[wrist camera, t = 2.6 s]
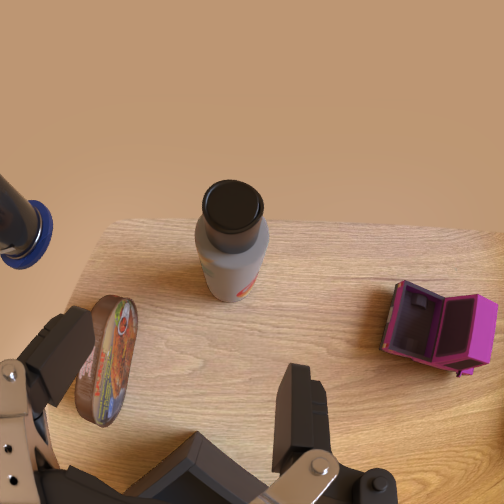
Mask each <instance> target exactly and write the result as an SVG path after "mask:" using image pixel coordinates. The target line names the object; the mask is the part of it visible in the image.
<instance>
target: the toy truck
mask: <svg viewBox="0 0 504 504" xmlns="http://www.w3.org/2000/svg"><path fill="white" fill-rule="evenodd" d="M497 310H498V304H496V303H494V302H492V301H490V300H489V299H487V298H485V297H483V296H481V295H479V294H475V295H466V296H457V297H447V298H445V297H442V296H440V295H438V294H436V293H433V292H431V291H429V290H427V289H424V288H422V287H420V286H418V285H415V284H413V283H411V282H408V281H406V280H404V281H402V282H400V283H398V284H396V285H395V290H394V294H393V299H392V303H391V307H390V311H389V315H388V319H387V323H386V327H385V330H384V334H383V338H382V341H381V345H380V348H379V350H382V351H385V352H388V353H391V354H395V355H398V356H401V357H406V358H412V360H413V361H416V362H419V363H422V364H426V365H429V366H432V367H435V368H439V369H442V370H446V371H452V372H456V374H457V375H456V377H460V376H461V375H472V374H473V370H474V368H475V367H479V366H482V365H486V364H489V362H490V357H491V352H492V346H493V340H494V334H495V327H496V319H497Z"/></svg>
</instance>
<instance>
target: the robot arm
mask: <svg viewBox="0 0 504 504" xmlns="http://www.w3.org/2000/svg"><path fill="white" fill-rule="evenodd" d="M42 232H43V218H42V215H41V213H40V211H39V210H38V209H37V208H36V207H34V206H32V205H31V204H30V203H29V202H28V201H27V200H26V199H25V198H24V197H23V196H22V195H21V194H20V193H19V192H18V191H17V190H16V189H15V188H14V187H13V186H12V185H11V184H9V182H7V181H6V180H5V179H4V177H3V176H2V175H1V174H0V254H3V253H4V254H5V255H6V256H8V257H9V258H11V259H14V260H20V259H23V258H25V257H27V256H28V255H30V254H31V253H32V252H33V250H34V249H35V248H36V246H37V245H38V243H39V241H40V238H41V235H42ZM94 346H95V333H94V327H93V321H92V314H91V312H90V311H89V310H86V309H83V308H80V307H77V306H72V307H71V308H70V309H69V310H68V311H67V312H66V313H65V314H59V315H57V316H55V317H54V318H52V319H51V320H50V321H49V322H48V323H47V324H46V325H45V326H44V329H42V330H41V331H40V332H39V333H38V335H36V337H35V338H34V339H33V340H32V341H31V342H30V344H29V345H28V346H27V347H26V348H25V350H24V351H23V352H22V353H21V355H20V356H19V357H18V358H17V359H7V360H4V361H2V362H1V363H0V504H173V503H169V502H166V501H162V500H159V499H152V498H141V497H133V496H125V495H122V494H120V493H119V492H117V491H116V490H114V489H113V488H111V487H110V486H108V485H107V484H105V483H104V482H102V481H101V480H99V479H98V478H97V477H95V476H93V475H90V474H88V473H86V472H84V471H81V470H79V469H77V468H75V467H73V466H71V465H69V468H68V470H63V469H60V466H59V463H58V461H57V458H56V456H55V454H54V452H53V448H52V444H51V439H50V434H49V429H48V423H47V417H46V412H45V409H44V408H45V407H46V405H47V403H49V404H51V405H53V406H54V407H56V408H57V406H58V404H59V403H60V401H61V400H62V398H63V396H64V395H65V393H66V391H67V390H68V388H69V387H70V385H71V383H72V382H73V380H74V379H75V377H76V376H77V374H78V372H79V371H80V369H81V368H82V366H83V365H84V363H85V362H86V360H87V359H88V357H89V356H90V354H91V353H92V351H93V349H94ZM327 414H328V408H327V397H326V391H325V389H324V388H323V386H322V384H321V382H320V381H316V380H311V376H310V367H309V366H306V365H300V364H294V363H289V365H288V367H287V370H286V372H285V374H284V377H283V379H282V381H281V384H280V386H279V389H278V392H277V397H276V411H275V428H274V445H273V460H272V472H275V473H280V477H279V478H278V479H277V480H276V481H275V482H274V483H273V484H272V485H271V486H270V487H269V488H268V489H266V490H265V491H264V492H263V493H261V494H260V495H258V496H257V497H256V498H255V499H254V500H252V501H251V502H250V503H249V504H398V499H397V487H396V481H395V479H394V477H393V475H392V474H391V473H390V472H388V471H387V470H384V469H381V468H373V469H370V470H368V471H367V472H365V473H364V472H361V471H358V470H354V469H351V468H348V467H346V466H343V465H342V464H340V463H339V462H338V461H337V459H336V458H335V457H334V456H333V454H332V451H331V445H330V432H329V419H328V415H327Z"/></svg>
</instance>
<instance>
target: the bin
mask: <svg viewBox="0 0 504 504" xmlns="http://www.w3.org/2000/svg"><path fill="white" fill-rule="evenodd" d="M268 488H269V487H268V486H267V485H265V484H264V483H263V482H261V481H260V480H258V479H257V478H256V477H254V476H253V475H252V474H250V473H249V472H247V471H246V470H245V469H243V468H242V467H241V466H240V465H238V464H237V463H236V462H234V461H233V460H232V459H231V458H229V457H228V456H227V455H226V454H224V453H223V452H222V451H221V450H219V449H218V448H217V447H216V446H215V445H213V444H212V443H211V442H210V441H209V440H208V439H206V438H205V437H204V436H203V435H202V434H201V433H200V432H198V431H196V432H195V433H194V434H193V435H192V436H191V437H190V438H189V439H187V440H186V441H185V442H184V443H183V444H182V445H181V446H180V447H178V448H177V449H176V450H175V451H174V452H173V453H171V454H170V455H169V456H168V457H167V458H165V459H164V460H163V461H162V462H161V463H160V464H158V465H157V466H156V467H155V468H153V469H152V470H151V471H150V472H149V473H147V474H146V475H145V476H144V477H142V478H141V479H140V480H139V481H137V482H136V483H135V484H133V485H132V486H131V487H130V488H128V489H127V490H126V491H125V492H124V493H123V495H125V496H133V497H141V498H152V499H159V500H162V501H166V502H169V503H173V504H249V503H250V502H251V501H252V500H254V499H255V498H256V497H257V496H258V495H260V494H261V493H263V492H264V491H265V490H266V489H268Z"/></svg>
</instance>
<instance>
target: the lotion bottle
mask: <svg viewBox="0 0 504 504" xmlns="http://www.w3.org/2000/svg"><path fill="white" fill-rule="evenodd" d="M202 211H203V214H202V215H201V216H200V218H199V220H198V222H197V225H196V228H195V243H196V247H197V251H198V255H199V258H200V262H201V265H202V269H203V272H204V275H205V279H206V282H207V285H208V287H209V289H210V291H211V293H212V294H213V295H214V296H215V297H216V298H218V299H219V300H222V301H225V302H237V301H240V300H242V299H244V298H245V297H246V296H247V295H248V294H249V293H250V292H251V290H252V288H253V286H254V283H255V281H256V278H257V275H258V272H259V269H260V267H261V264H262V261H263V258H264V256H265V253H266V250H267V247H268V242H269V229H268V225H267V222H266V220H265V218H264V217H263V211H264V203H263V200H262V197H261V196H260V194H259V193H258V192H257V191H256V190H255V189H254V188H253V187H252V186H250V185H248V184H246V183H244V182H241V181H237V180H222V181H219V182H216V183H215V184H213V185H212V186H211V187H209V189H208V190H207V191H206V193H205V195H204V198H203V202H202Z"/></svg>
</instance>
